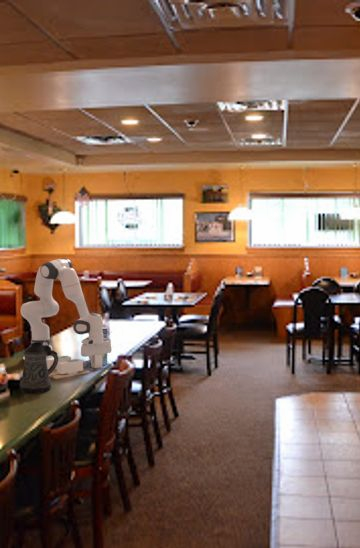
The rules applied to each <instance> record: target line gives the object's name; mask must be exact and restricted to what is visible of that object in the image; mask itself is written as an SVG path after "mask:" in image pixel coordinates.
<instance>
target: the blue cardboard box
mask: <svg viewBox="0 0 360 548" xmlns="http://www.w3.org/2000/svg"><path fill="white" fill-rule="evenodd" d="M104 338H108V328H106V327H104V326H103V339H104ZM88 359H89V358H88ZM89 361H90V359H89ZM106 365H107V366H108V353H105V354H104V357H103V361H102V366H106Z"/></svg>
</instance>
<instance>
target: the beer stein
mask: <svg viewBox="0 0 360 548" xmlns="http://www.w3.org/2000/svg"><path fill="white" fill-rule="evenodd" d="M23 355H24V356H23V357H25V360H24V363H23V369H22V370H23V371H22V375H21V381H20V383H19V388H20V392H21V393H22V394H30V395H32V394H43V393H47V392H49V391H51V389H52V381H51V379H50V378H51V377H49V375H50V374H51V373H52V372H53V370H54V369H55V368H56V366H57V364H58V357H59V355H58V353H57V352H56V351H55V350H53V349H52V350H51V348H50V347H49V346H48V345H42V343H32V344H31V343H30V346H29V347H27V348H26V349H24V351H23ZM46 356H53V357H54V362H53V364H52V366H51V367H50V368H49V369H48V368H47V361H46Z"/></svg>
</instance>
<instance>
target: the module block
mask: <svg viewBox="0 0 360 548" xmlns="http://www.w3.org/2000/svg"><path fill="white" fill-rule="evenodd" d="M92 359H93V360H94V363H91V362H90V367H91V368H93V369H98V368H103V365H102V354H98V355H93V356H92Z"/></svg>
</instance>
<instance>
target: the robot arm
mask: <svg viewBox="0 0 360 548" xmlns="http://www.w3.org/2000/svg"><path fill="white" fill-rule="evenodd" d="M57 279H58V280H59V281H60V283H61V288H62V292H63V294H64V296H65V298H66V299H67V300H70V301H71V302H72V303H74V304H75V306H76V309H77V312H78V314H79V319H77V320H75V321H74V322H73V325H72V328H73V332H74V333H75V334H77V335H86V334H88V336H87V337H86V338H84V339H81V346H80V356H82V357H84V358H87V357H88V359H90V360H89V361H90V364H91V363H94V360H93V359H92V356H93V355H98V354H102V361H103V357H104V354H105V353H107V354H110V353H112V343H111V342H112V341H111V339H110V338H108V337H107V338H104V339H103V327H104V321H103V320H104V318H103V316H102V314H100V313H96V312H91V313H90V311H89V306H88V304H87V302H86V299H85V296H84V293H83V290H82V286H81V285H82V284H81V282H80V279H79V276H78V274H77V272H76V270H75V269H74V268H73V263H72V261H71V260H70V259H69V258H58V259H54V260H49V261H46V262H44V263H43V264H41V266H39V268H38V270H37V273H36V277H35V281H34V289H33V292H34V295H36V296H37V297H38V298H39V300H32V301H28V302H26V303H25V302H24V303H23V304H22V305H21V307H20V314H21V316H22V317H23V319H25V320H27V322H28V323H29V325H30V329H31V339H30V345H31V344H32V343H42V345H48V346H49V347H50V348H51V350H53V346H52V345H51V338H50V327H49V325H48V324H46V323H45V322H43V321H42V318H49V317H54V316H56V315H58V313H59V311H60V305H59V303H58V302H57V301H56V300H55V299H54V297H53V286H54V280H57ZM48 358H54V357H53V356H46V359H48ZM22 360H24V361H25V356H23V357H22Z"/></svg>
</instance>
